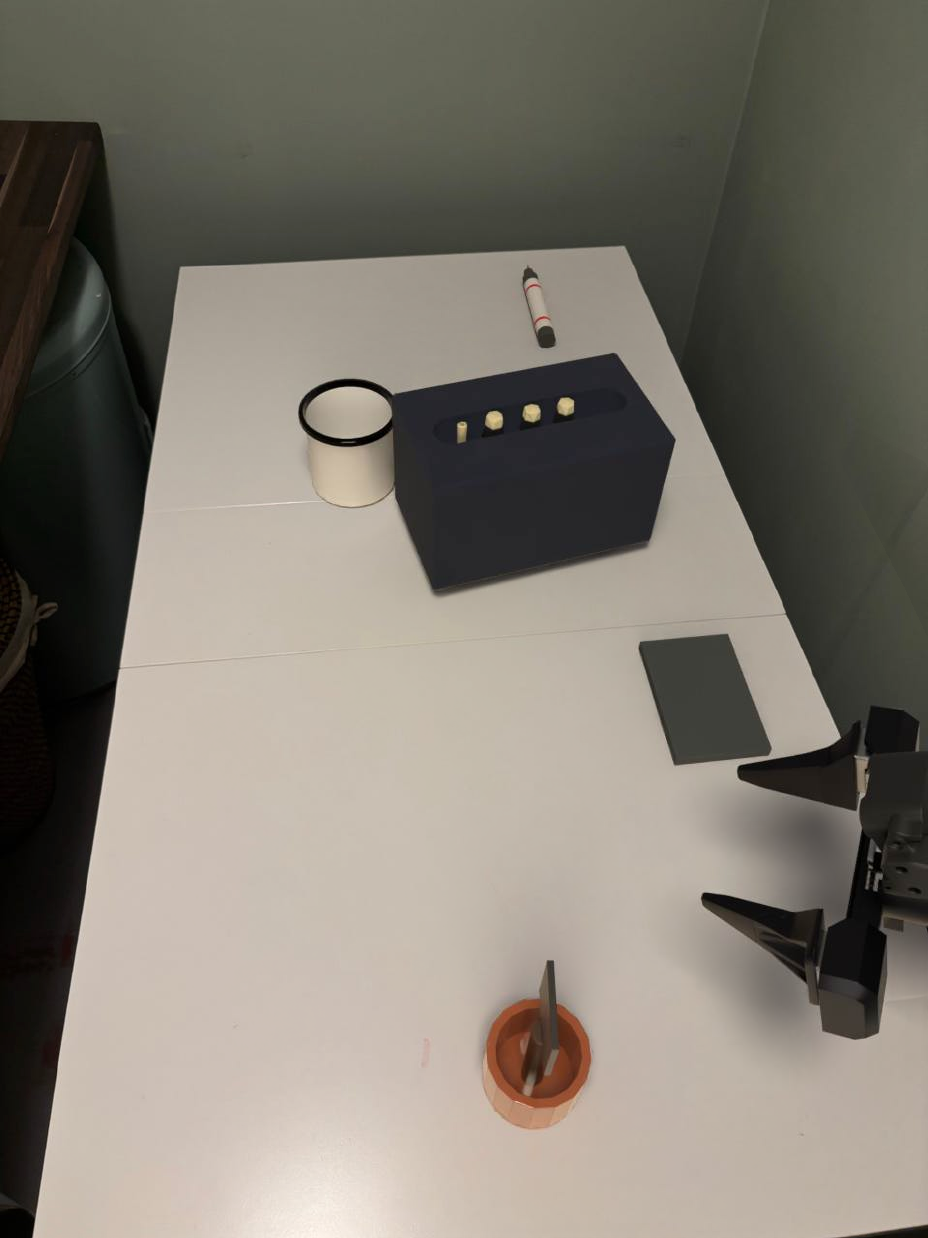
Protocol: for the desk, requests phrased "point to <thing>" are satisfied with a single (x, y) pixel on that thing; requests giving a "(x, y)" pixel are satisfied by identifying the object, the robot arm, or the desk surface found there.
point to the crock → (506, 1059)
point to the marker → (538, 308)
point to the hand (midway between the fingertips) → (720, 832)
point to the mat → (703, 699)
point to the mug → (349, 440)
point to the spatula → (543, 1033)
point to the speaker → (527, 468)
